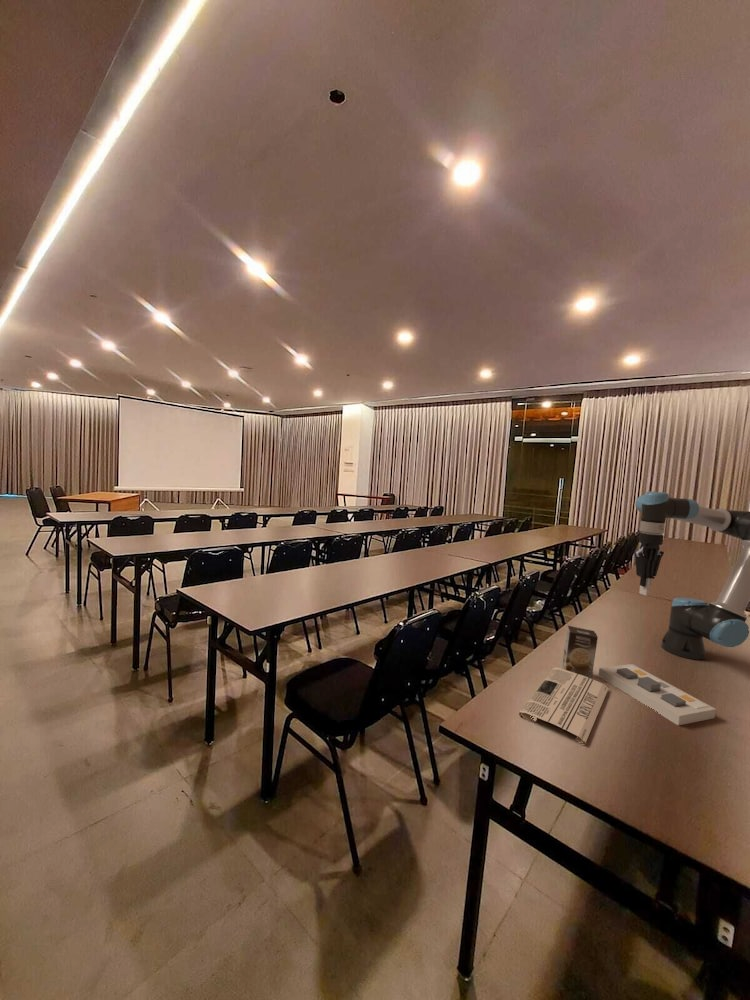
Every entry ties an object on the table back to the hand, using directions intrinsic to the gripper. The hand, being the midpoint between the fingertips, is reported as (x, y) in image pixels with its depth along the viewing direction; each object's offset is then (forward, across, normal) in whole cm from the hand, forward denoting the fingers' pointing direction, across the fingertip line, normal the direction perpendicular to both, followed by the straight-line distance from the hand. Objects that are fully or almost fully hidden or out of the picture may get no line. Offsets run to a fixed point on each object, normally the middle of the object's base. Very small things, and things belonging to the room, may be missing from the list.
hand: (644, 594), depth 152 cm
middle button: (+26, -16, -17) cm, 35 cm away
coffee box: (+28, -29, 0) cm, 40 cm away
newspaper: (+28, -47, -14) cm, 57 cm away
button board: (+28, -14, -17) cm, 36 cm away
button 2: (+27, -16, -25) cm, 40 cm away
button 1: (+27, -16, -9) cm, 33 cm away
